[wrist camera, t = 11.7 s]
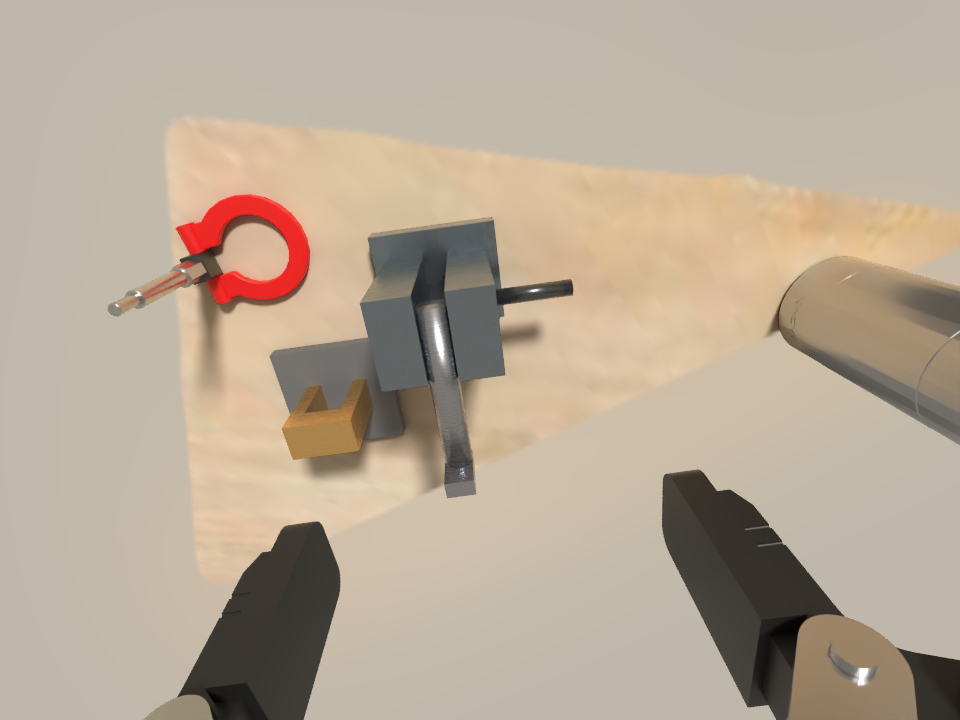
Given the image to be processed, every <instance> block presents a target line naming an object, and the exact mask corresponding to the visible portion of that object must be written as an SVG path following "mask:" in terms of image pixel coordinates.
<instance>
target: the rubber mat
mask: <svg viewBox="0 0 960 720" xmlns="http://www.w3.org/2000/svg"><path fill="white" fill-rule="evenodd" d="M270 358H271V361H272V364H273V367H274V370H275V373H276V375H277V378H278V381H279V384H280V387H281V390H282V392H283V395H284V398H285V401H286V404H287V407H288V409H289V412H290V414H291V413H292V411H293V410H294V408H295V406H296V405H297V403H298V402H299V400H300V398H301V397H302V395H303V393H304V392H305V390H306V389H307V387H308V386H315V385H321V387H322V390H323V394H324V397H325V400H326V403H327V407H328V410H332V409H339V408H341V407H342V404H343V402H344V400H345V398H346V395H347V393H348V391H349V388H350V386H351V384H352V382H353V380H359V379H366V381H367V384H368V388H369V392H370V396H371V400H372V404H373V409H372V412H371V415H370V419H369V422H368V425H367V428H366V431H365V434H364V438H363V440H367V439H375V438H382V437H389V436H397V435H403V434H404V428H405V427H404V423H403V419H402V414H401V410H400V406H399V402H398V397H397V393H396V390H393V391H385V392H382V390H381V386H380V382H379V378H378V374H377V370H376V366H375V362H374V358H373V354H372V350H371V346H370V342H369V338H363V339H355V340H348V341H341V342H333V343H326V344H319V345H311V346H304V347H297V348H290V349H282V350H275V351H274V352H273V353H272V354H271V355H270Z"/></svg>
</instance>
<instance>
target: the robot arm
mask: <svg viewBox="0 0 960 720" xmlns="http://www.w3.org/2000/svg"><path fill="white" fill-rule="evenodd" d="M779 327H780V332H781V334H782V336H783V338H784V339H785V340H786V341H787V342H788V343H789V345H791V346H793V347H794V348H796V349H798V350H799V351H801V352H803V353H804V354H806V355H808V356H809V357H811V358H813V359H814V360H816V361H818V362H819V363H821V364H822V365H824V366H826V367H827V368H829V369H831V370H833V371H834V372H836V373H838V374H839V375H841V376H843V377H844V378H846V379H848V380H850V381H851V382H853V383H855V384H856V385H858V386H860V387H861V388H863V389H865V390H867V391H868V392H870V393H872V394H873V395H875V396H877V397H878V398H880V399H882V400H884V401H885V402H887V403H889V404H890V405H892V406H894V407H895V408H897V409H899V410H900V411H902V412H904V413H906V414H907V415H909V416H911V417H912V418H914V419H916V420H917V421H919V422H921V423H923V424H924V425H926V426H928V427H929V428H931V429H933V430H935V431H937V432H938V433H940V434H942V435H944V436H945V437H947V438H948V439H950V440H952V441H954V442H955V443H957V444H959V445H960V286H956V285H953V284H949V283H945V282H942V281H938V280H935V279H931V278H927V277H924V276H920V275H916V274H913V273H909V272H905V271H902V270H898V269H895V268H892V267H888V266H884V265H881V264H877V263H873V262H870V261H866V260H862V259H859V258H855V257H837V258H832V259H829V260H826V261H823V262H821V263H819V264H817V265H815V266H813V267H812V268H810V269H809V270H807V271H806V272H805V273H803V274H802V275H801V276H800V277H799V278H798V279H797V280H796V281H795V282H794V283H793V285H792V286H791V287H790V289H789V290H788V292H787V293H786V295H785V297H784V299H783V302H782V304H781V308H780V312H779ZM662 509H663V510H662V528H663V534H664V538H665V542H666V545H667V548H668V551H669V553H670V555H671V557H672V559H673V561H674V563H675V565H676V567H677V569H678V570H679V573H680V575H681V577H682V579H683V581H684V583H685V584H686V587H687V589H688V591H689V592H690V595H691V596H692V598H693V600H694V602H695V604H696V606H697V608H698V610H699V612H700V614H701V616H702V618H703V620H704V622H705V624H706V626H707V628H708V630H709V632H710V634H711V636H712V638H713V640H714V642H715V644H716V646H717V648H718V650H719V652H720V654H721V655H722V658H723V659H724V661H725V663H726V665H727V667H728V669H729V671H730V673H731V675H732V677H733V679H734V681H735V683H736V685H737V687H738V689H739V691H740V693H741V695H742V697H743V699H744V701H745V703H746V705H747V707H755V706H764V705H769V707H770V709H771V711H772V712H773V714H774V716H775V718H776V720H960V660H955V659H948V658H943V657H937V656H932V655H926V654H920V653H914V652H910V651H906V650H902V649H899V648H896V647H895V646H894V645H893V644H892V643H891V642H890V641H888V640H887V639H886V638H885V637H883V636H882V635H881V634H880V633H878V632H876V631H875V630H873V629H872V628H870V627H868V626H866V625H864V624H862V623H860V622H858V621H855V620H853V619H850V618H847V617H844V615H843V614H842V613H841V612H840V611H839V610H838V609H837V608H836V606H835V605H834V604H833V603H832V602H831V600H830V599H829V598H828V597H827V595H826V594H825V593H824V592H823V591H822V589H821V588H820V587H819V585H818V584H817V583H816V582H815V581H814V579H813V578H812V577H811V576H810V574H809V573H808V572H807V571H806V569H805V568H804V567H803V566H802V565H801V563H800V562H799V561H798V560H797V558H796V557H795V556H794V555H793V554H792V552H791V551H790V550H789V549H788V547H787V546H786V545H783V543H782V540H781V539H780V538H779V536H778V535H777V534H776V533H775V532H774V530H773V529H772V528H769V524H768V523H767V522H766V520H765V519H764V518H763V517H762V515H761V514H760V513H759V512H758V510H757V509H756V508H755V507H754V506H753V505H752V504H751V503H749V502H748V501H746V500H745V499H743V498H742V497H740V496H739V495H737V494H736V493H734V492H733V491H731V490H723V491H716V489H715V488H714V486H713V485H712V484H711V483H710V481H709V480H708V478H707V477H706V476H705V474H704V473H703V472H702V471H700V470H692V471H684V472H677V473H670V474H665V475H664V477H663V504H662ZM339 592H340V572H339V567H338V565H337V562H336V560H335V557H334V554H333V552H332V549H331V547H330V544H329V541H328V539H327V536H326V534H325V531H324V528H323V526H322V525H321V523H320V522H309V523H302V524H295V525H288V526H285V527H284V528H283V529H282V530H281V532H280V534H279V536H278V538H277V540H276V542H275V544H274V546H273V548H272V550H271V551H269V552H262V553H261V554H260V555H259V556H258V558H257V559H256V560H255V561H254V562H253V563H252V564H251V565H250V566H249V567H248V568H247V569H246V570H245V571H244V573H243V574H242V576H241V578H240V580H239V582H238V584H237V586H236V588H235V590H234V591H233V593H232V599H229V601H228V603H227V605H226V607H225V609H224V611H223V612H222V618H219V620H218V622H217V624H216V626H215V627H214V629H213V631H212V633H211V635H210V637H209V639H208V641H207V643H206V645H205V647H204V648H203V650H202V652H201V654H200V656H199V658H198V660H197V662H196V664H195V666H194V667H193V669H192V671H191V673H190V675H189V677H188V679H187V681H186V682H185V684H184V686H183V688H182V690H181V692H180V693H179V695H178V697H177V698H175V699H172V700H170V701H168V702H166V703H165V704H163V705H161V706H160V707H158V708H157V709H156V710H154V711H153V712H152V713H150V714H149V715H148V716H147V717H146V718H145V719H144V720H304V716H305V712H306V709H307V705H308V702H309V699H310V695H311V691H312V688H313V684H314V681H315V677H316V674H317V670H318V667H319V663H320V660H321V656H322V653H323V649H324V646H325V642H326V639H327V635H328V632H329V628H330V625H331V621H332V617H333V614H334V611H335V607H336V604H337V600H338V597H339Z"/></svg>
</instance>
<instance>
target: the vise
mask: <svg viewBox="0 0 960 720" xmlns="http://www.w3.org/2000/svg"><path fill="white" fill-rule="evenodd" d="M368 242H369V246H370V251H371V255H372V259H373V264H374V268H375V273H376V278H375V279H374V281H373V283H372V284H371V286H370V288H369V289H368V291H367V292H366V294H365V296H364V297H363V299H362V301H361V302H360V305H361V310H362V314H363V318H364V322H365V326H366V330H367V334H368V338H369V342H370V346H371V350H372V354H373V358H374V362H375V366H376V370H377V374H378V378H379V382H380V386H381V390H382V392H385V391H393V390H400V389H407V388H415V387H422V386H428V383H429V382H430V387H431V392H432V397H433V403H434V408H435V413H436V418H437V423H438V428H439V433H440V438H441V443H442V449H443V454H444V459H445V482H444V485H445V490H446V494H447V498H452V497H459V496H467V495H474V494H476V485H475V467H474V458H473V452H472V450H471V445H470V439H469V433H468V427H467V421H466V415H465V409H464V403H463V396H462V390H461V384H460V381H466V380H474V379H481V378H488V377H496V376H503V375H505V367H504V359H503V350H502V341H501V333H500V324H499V317H502V316H504V309H503V305H505V304H512V303H520V302H527V301H534V300H542V299H549V298H556V297H564V296H571V295H573V284H572V280H571V279H569V280H562V281H554V282H547V283H540V284H533V285H525V286H518V287H511V288H503V289H501V282H500V273H499V264H498V255H497V246H496V237H495V228H494V220H493V218H492V217H489V218H482V219H474V220H467V221H460V222H453V223H445V224H438V225H431V226H424V227H417V228H409V229H402V230H395V231H388V232H380V233H373V234H371V235H370V236H369V237H368Z"/></svg>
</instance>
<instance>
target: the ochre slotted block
mask: <svg viewBox="0 0 960 720" xmlns="http://www.w3.org/2000/svg"><path fill="white" fill-rule="evenodd" d="M372 409H373V404H372V400H371V396H370V392H369V388H368V384H367V381H366V379H359V380H353V382H352V384H351V386H350V388H349V391H348V393H347V395H346V398H345V400H344V402H343V404H342V407H341V408H339V409H332V410H328V407H327V403H326V400H325V397H324V394H323V390H322V387H321V385H315V386H308V387H307V389H306V390H305V392H304V393H303V395H302V397H301V398H300V400H299V402H298V403H297V405H296V406H295V408H294V410H293V411H292V413H291V414H290V416H289V418H288V419H287V421H286V423H285V424H284V426H283V427H282V431H283V434H284V436H285V439H286V442H287V445H288V447H289V450H290V453H291V455H292V458H293V460H295V459H302V458H310V457H317V456H325V455H332V454H340V453H347V452H355V451H359V450H360V447H361V444H362V441H363V438H364V434H365V431H366V428H367V425H368V422H369V419H370V415H371V412H372Z"/></svg>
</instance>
